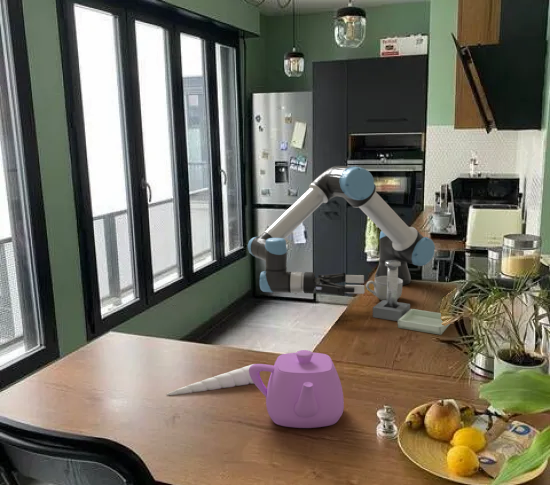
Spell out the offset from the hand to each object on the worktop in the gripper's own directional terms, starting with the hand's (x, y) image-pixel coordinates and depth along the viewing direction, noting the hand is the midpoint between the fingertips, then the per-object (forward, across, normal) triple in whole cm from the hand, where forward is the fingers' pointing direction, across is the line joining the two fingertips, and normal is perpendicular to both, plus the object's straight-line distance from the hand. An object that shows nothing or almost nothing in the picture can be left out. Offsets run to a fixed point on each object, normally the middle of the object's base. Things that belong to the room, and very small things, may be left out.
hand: (364, 284), depth 190 cm
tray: (+20, +9, -11) cm, 24 cm away
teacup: (+8, -19, -11) cm, 24 cm away
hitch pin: (+10, 0, -11) cm, 15 cm away
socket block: (+10, 0, -11) cm, 15 cm away
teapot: (-14, +74, -11) cm, 76 cm away
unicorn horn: (-37, +62, -12) cm, 73 cm away
